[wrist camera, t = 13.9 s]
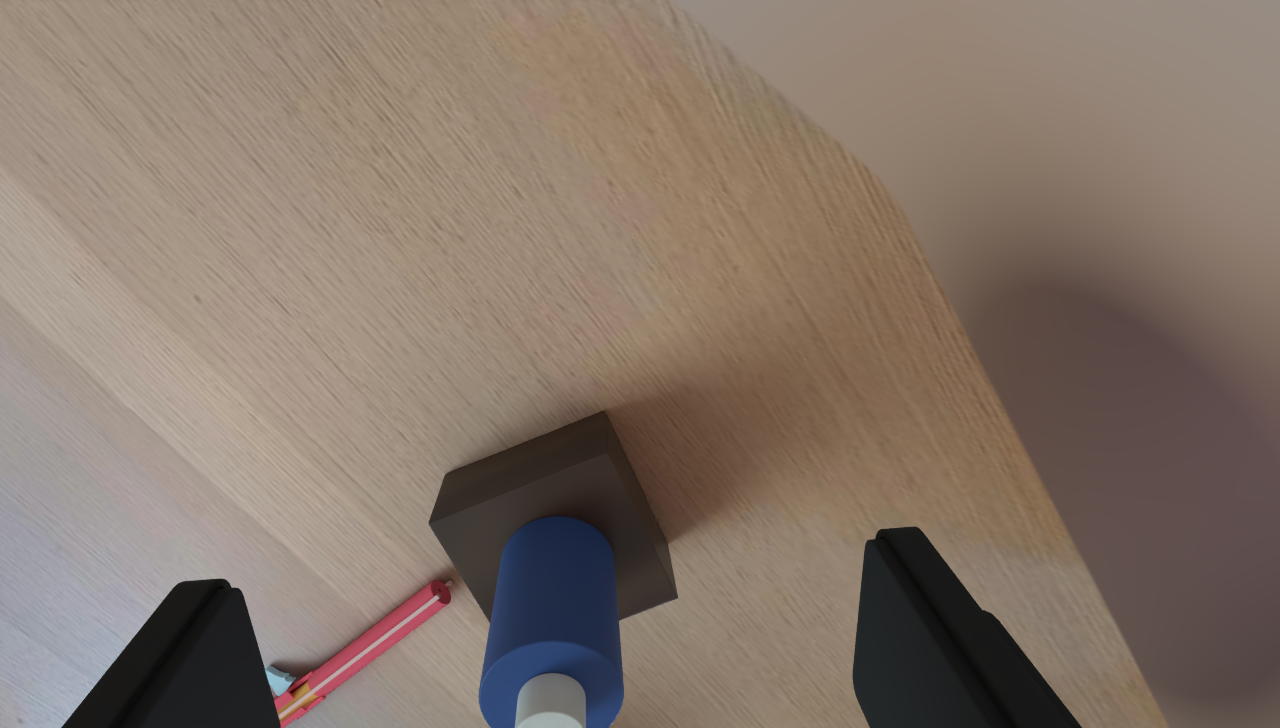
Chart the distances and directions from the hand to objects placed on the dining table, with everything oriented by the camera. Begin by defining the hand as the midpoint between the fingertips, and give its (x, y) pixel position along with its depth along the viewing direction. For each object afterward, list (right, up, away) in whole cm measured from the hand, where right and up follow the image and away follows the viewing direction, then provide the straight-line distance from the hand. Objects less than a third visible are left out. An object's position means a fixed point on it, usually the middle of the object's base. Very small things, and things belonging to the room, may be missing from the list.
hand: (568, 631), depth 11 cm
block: (-4, -5, +32) cm, 33 cm away
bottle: (-3, -7, +27) cm, 28 cm away
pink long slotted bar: (-20, -16, +35) cm, 44 cm away
